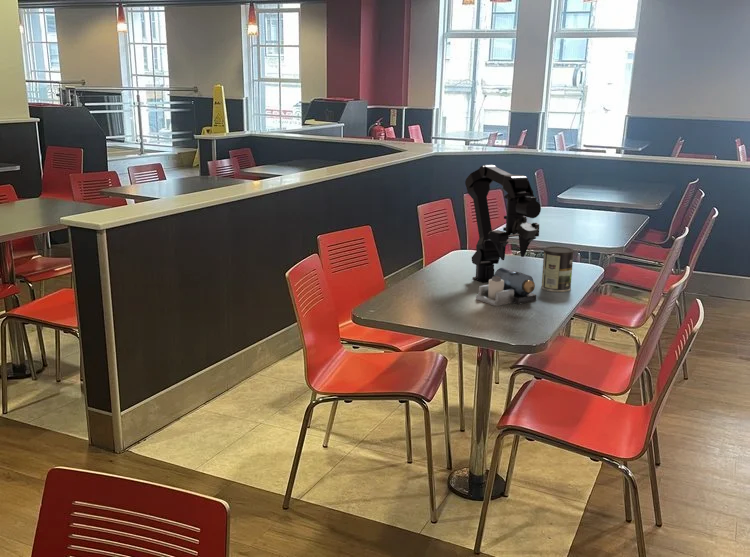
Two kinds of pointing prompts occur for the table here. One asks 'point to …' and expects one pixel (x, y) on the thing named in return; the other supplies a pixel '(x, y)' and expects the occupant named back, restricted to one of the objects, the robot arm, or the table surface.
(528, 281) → the motor
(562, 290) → the coffee can
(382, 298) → the table surface
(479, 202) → the robot arm
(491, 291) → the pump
